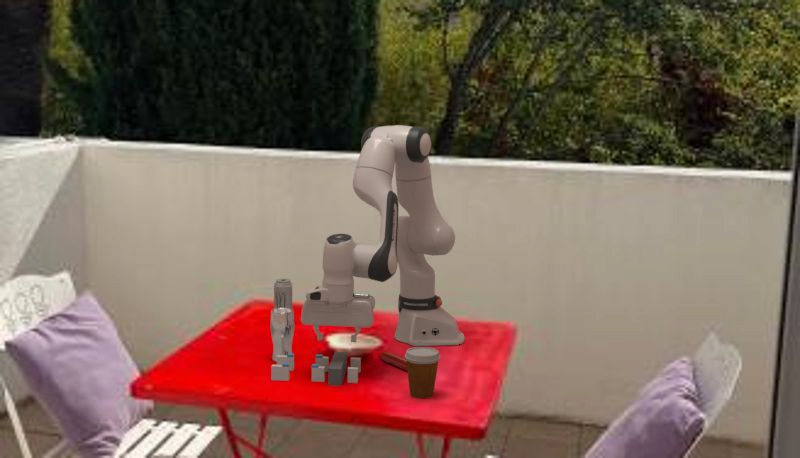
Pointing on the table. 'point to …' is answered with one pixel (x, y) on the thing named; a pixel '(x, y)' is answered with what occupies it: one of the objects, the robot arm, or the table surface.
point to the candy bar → (394, 360)
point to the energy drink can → (283, 294)
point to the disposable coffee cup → (422, 370)
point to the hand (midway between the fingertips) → (336, 340)
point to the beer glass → (282, 331)
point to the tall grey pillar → (337, 369)
